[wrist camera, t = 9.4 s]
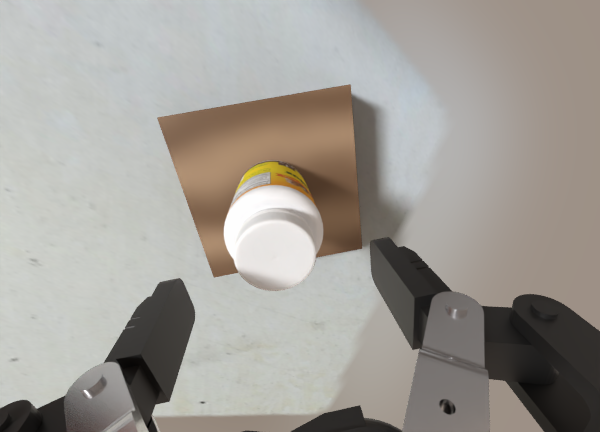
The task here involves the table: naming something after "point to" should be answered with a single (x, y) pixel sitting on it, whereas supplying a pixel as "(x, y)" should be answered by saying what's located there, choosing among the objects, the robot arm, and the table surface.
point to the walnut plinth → (262, 147)
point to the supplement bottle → (273, 227)
